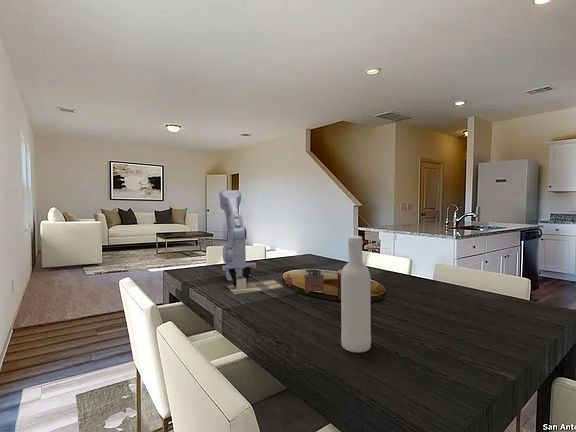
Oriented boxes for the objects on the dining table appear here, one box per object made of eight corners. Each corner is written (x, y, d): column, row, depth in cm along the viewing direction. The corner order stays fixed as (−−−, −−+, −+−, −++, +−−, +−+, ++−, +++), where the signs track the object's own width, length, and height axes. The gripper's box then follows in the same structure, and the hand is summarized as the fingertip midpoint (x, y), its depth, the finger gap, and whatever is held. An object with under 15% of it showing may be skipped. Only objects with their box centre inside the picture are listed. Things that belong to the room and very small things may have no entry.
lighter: (323, 291, 141) (323, 268, 140) (323, 293, 137) (323, 270, 136) (304, 291, 141) (304, 268, 141) (304, 293, 138) (304, 269, 137)
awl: (284, 285, 150) (284, 273, 150) (290, 284, 151) (290, 272, 151) (286, 287, 147) (286, 274, 147) (293, 286, 149) (292, 274, 148)
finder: (234, 285, 148) (233, 276, 148) (242, 284, 149) (242, 275, 149) (237, 289, 142) (237, 279, 142) (246, 287, 144) (246, 278, 144)
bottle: (376, 345, 91) (376, 236, 89) (361, 356, 85) (361, 239, 83) (350, 337, 96) (350, 234, 94) (335, 346, 90) (334, 237, 88)
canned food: (334, 300, 129) (334, 272, 128) (341, 294, 136) (341, 268, 135) (354, 303, 125) (354, 274, 124) (360, 297, 132) (359, 269, 131)
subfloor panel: (226, 288, 148) (226, 285, 148) (272, 282, 157) (272, 279, 156) (234, 297, 135) (234, 294, 135) (284, 289, 144) (284, 287, 144)
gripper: (224, 257, 138) (225, 289, 139) (257, 254, 144) (258, 285, 145) (221, 254, 145) (222, 285, 146) (253, 252, 150) (253, 281, 151)
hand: (240, 285), depth 146 cm, fingers closed on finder, 4 cm apart
